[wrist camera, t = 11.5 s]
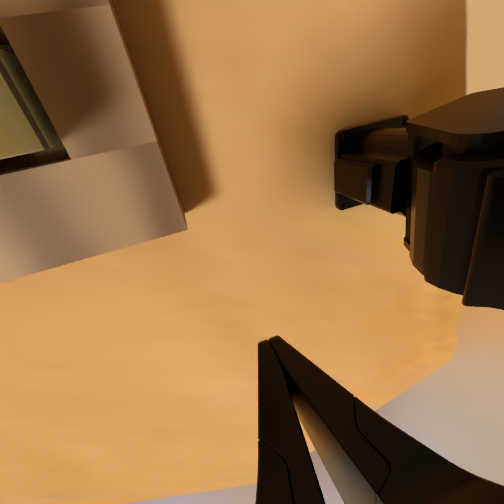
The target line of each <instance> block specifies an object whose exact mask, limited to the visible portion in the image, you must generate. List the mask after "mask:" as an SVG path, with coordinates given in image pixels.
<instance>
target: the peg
mask: <svg viewBox="0 0 504 504" xmlns="http://www.w3.org/2000/svg"><path fill="white" fill-rule="evenodd" d="M61 146H64V145H63V143H62V141H61V139H60V137H59V135H58V134H57V132H56V130H55V128H54V126H53V124H52V122H51V120H50V118H49V117H48V115H47V113H46V111H45V109H44V107H43V105H42V103H41V101H40V100H39V98H38V96H37V94H36V92H35V90H34V88H33V86H32V84H31V82H30V81H29V79H28V77H27V75H26V73H25V71H24V69H23V67H22V65H21V64H20V62H19V60H18V58H17V56H16V55H14V54H11V53H9V52H7V51H5V50H3V49H0V160H1V159H5V158H10V157H15V156H20V155H24V154H29V153H34V152H39V151H43V150H48V149H51V148H56V147H61Z"/></svg>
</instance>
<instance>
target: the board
mask: <svg viewBox="0 0 504 504" xmlns="http://www.w3.org/2000/svg"><path fill="white" fill-rule="evenodd" d="M4 44H10V45H11V47H12V48H13V50H14V52H15V54H16V56H17V58H18V60H19V62H20V64H21V65H22V67H23V69H24V71H25V73H26V75H27V77H28V79H29V81H30V82H31V84H32V86H33V88H34V90H35V92H36V94H37V96H38V98H39V100H40V101H41V103H42V105H43V107H44V109H45V111H46V113H47V115H48V117H49V118H50V120H51V122H52V124H53V126H54V128H55V130H56V132H57V134H58V135H59V137H60V139H61V141H62V143H63V145H64V147H65V149H66V151H67V153H68V154H69V156H70V158H67V159H62V160H58V161H53V162H48V163H44V164H39V165H34V166H30V167H25V168H21V169H16V170H11V171H7V172H2V173H0V283H1V282H5V281H9V280H12V279H16V278H19V277H23V276H26V275H30V274H33V273H37V272H40V271H44V270H47V269H51V268H54V267H58V266H61V265H65V264H68V263H72V262H75V261H79V260H82V259H86V258H89V257H93V256H96V255H100V254H103V253H107V252H111V251H114V250H118V249H121V248H125V247H128V246H132V245H135V244H139V243H142V242H146V241H149V240H153V239H156V238H160V237H163V236H167V235H170V234H174V233H177V232H181V231H184V230H187V224H186V219H185V214H184V211H183V208H182V205H181V202H180V199H179V196H178V194H177V191H176V188H175V185H174V182H173V179H172V176H171V173H170V170H169V167H168V164H167V161H166V158H165V155H164V152H163V150H162V147H161V144H160V141H159V138H158V135H157V132H156V129H155V126H154V123H153V120H152V117H151V114H150V111H149V108H148V106H147V103H146V100H145V97H144V94H143V91H142V88H141V85H140V82H139V79H138V76H137V73H136V70H135V67H134V64H133V61H132V59H131V56H130V53H129V50H128V47H127V44H126V41H125V38H124V35H123V32H122V29H121V26H120V23H119V20H118V17H117V15H116V12H115V9H114V6H113V3H112V0H0V45H4Z"/></svg>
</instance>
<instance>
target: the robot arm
mask: <svg viewBox="0 0 504 504" xmlns="http://www.w3.org/2000/svg"><path fill="white" fill-rule="evenodd" d="M401 121H402V124H401ZM342 134H343V136H344V137H343V139H342V140H341V136H342ZM334 186H335V205H336V208H338V209H340V210H345V209H348V208H351V207H354V206H358V205H361V204H366V205H372V206H374V207H377V208H379V209H382V210H384V211H387V212H389V213H392V214H394V213H397V214H399V215H402V216H405V217H406V235H405V237H404V246H405V247H406V248H407V249H408V250H409V251H410V258H411V261H412V264H413V266H414V267H415V268H416V269H417V270H418V271H419V272H420V273H421V274H422V275H424V279H425V281H426V282H428V283H430V284H432V285H434V286H436V287H438V288H441V289H443V290H446V291H449V292H452V293H455V294H460V295H463V299H462V304H463V305H465V306H474V307H491V308H496V309H502V310H504V88H498V89H493V90H487V91H482V92H476V93H472V94H469V95H467V96H464V97H462V98H460V99H457V100H455V101H452V102H450V103H448V104H445V105H443V106H441V107H438V108H436V109H434V110H431V111H429V112H427V113H424V114H422V115H420V116H417V117H415V118H413V119H410V120H409V118H408V116H406V115H403V116H397V117H392V118H388V119H384V120H380V121H376V122H372V123H368V124H363V125H359V126H355V127H351V128H347V129H343V130H340V131H338V132H337V133H336V136H335V162H334ZM342 202H343V204H342V206H341V203H342ZM297 415H298V416H297ZM298 417H299V419H300V420H301V422H302V424H303V426H304V428H305V430H306V432H307V434H308V436H309V437H310V439H311V441H312V443H313V445H314V447H315V449H316V451H317V452H318V454H319V456H320V458H321V460H322V462H323V464H324V466H325V468H326V470H327V471H328V473H329V475H330V477H331V479H332V481H333V483H334V485H335V487H336V488H337V490H338V492H339V494H340V496H341V498H342V500H343V502H344V504H504V486H503V485H500V484H497V483H495V482H492V481H489V480H486V479H484V478H481V477H479V476H476V475H474V474H472V473H470V472H468V471H466V470H464V469H462V468H460V467H458V466H456V465H455V464H453V463H451V462H450V461H448V460H447V459H445V458H443V457H442V456H440V455H439V454H437V453H436V452H434V451H433V450H431V449H430V448H428V447H426V446H425V445H423V444H422V443H420V442H419V441H417V440H416V439H414V438H413V437H411V436H409V435H408V434H406V433H405V432H403V431H402V430H400V429H399V428H397V427H396V426H394V425H393V424H392V423H390V422H388V421H387V420H386V419H384V418H383V417H381V416H380V415H379V414H377V413H376V412H375V411H373V410H372V409H371V408H369V407H368V406H367V405H365V404H364V403H363V402H362V401H360V400H359V399H358V398H357V397H354V395H353V394H351V393H350V392H349V391H348V390H346V389H345V388H344V387H343V386H341V385H340V384H339V383H338V382H336V381H335V380H334V379H333V378H331V377H330V376H329V375H327V374H326V373H325V372H324V371H322V370H321V369H320V368H319V367H317V366H316V365H315V364H314V363H312V362H311V361H310V360H309V359H307V358H306V357H305V356H304V355H302V354H301V353H300V352H299V351H297V350H296V349H295V348H293V347H292V346H291V345H290V344H288V343H287V342H286V341H285V340H283V339H282V338H281V337H280V336H274V337H271V338H269V339H268V340H264V341H261V342H259V343H258V439H259V441H258V478H257V491H256V504H325V501H324V497H323V494H322V491H321V488H320V485H319V482H318V479H317V475H316V473H315V469H314V466H313V463H312V460H311V457H310V453H309V450H308V447H307V444H306V441H305V438H304V434H303V431H302V428H301V425H300V422H299V419H298Z"/></svg>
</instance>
